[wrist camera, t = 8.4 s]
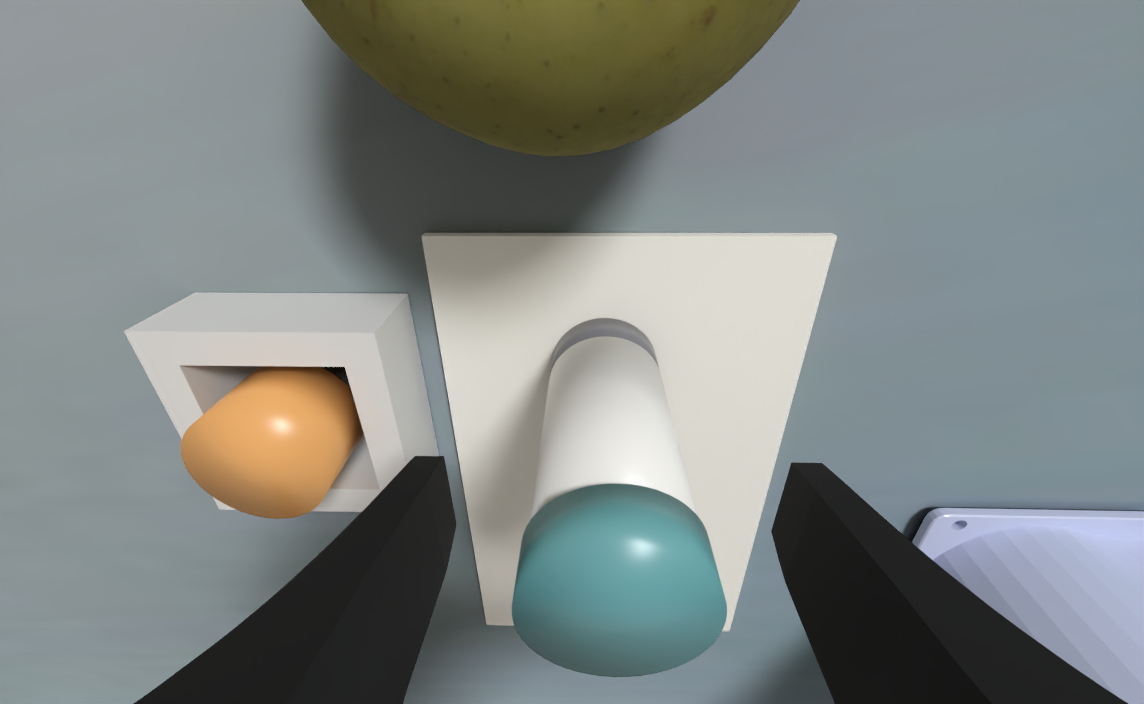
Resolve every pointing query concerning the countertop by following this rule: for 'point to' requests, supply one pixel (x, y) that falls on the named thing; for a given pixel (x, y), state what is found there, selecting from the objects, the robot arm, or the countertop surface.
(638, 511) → the marker
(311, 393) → the button
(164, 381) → the button housing
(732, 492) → the paper
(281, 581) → the countertop surface
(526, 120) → the apple
